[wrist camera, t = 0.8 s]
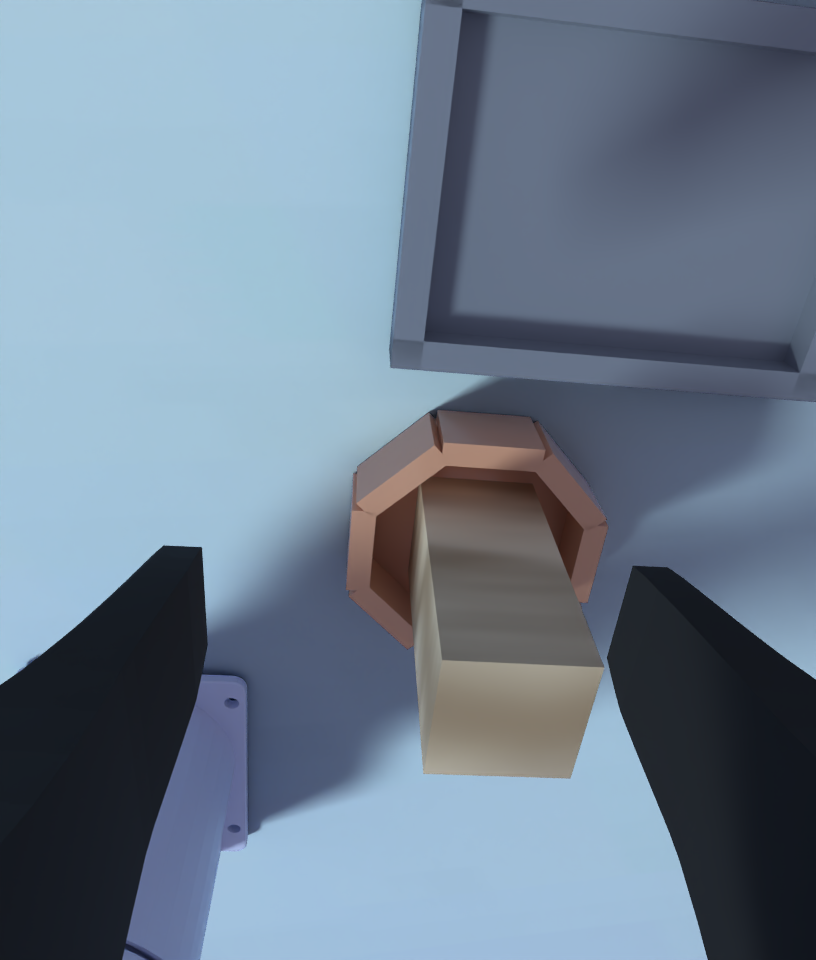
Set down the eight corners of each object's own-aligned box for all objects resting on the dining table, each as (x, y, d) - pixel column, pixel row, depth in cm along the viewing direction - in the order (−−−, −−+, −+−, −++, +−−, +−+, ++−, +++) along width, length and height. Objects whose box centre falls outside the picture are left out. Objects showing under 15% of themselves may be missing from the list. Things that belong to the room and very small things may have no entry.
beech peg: (513, 575, 24) (570, 778, 17) (408, 569, 24) (423, 773, 17) (532, 483, 23) (604, 667, 16) (419, 475, 22) (441, 660, 15)
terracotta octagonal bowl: (556, 615, 26) (571, 659, 24) (343, 604, 25) (341, 648, 23) (606, 422, 22) (627, 455, 20) (358, 403, 22) (357, 436, 20)
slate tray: (790, 382, 22) (816, 402, 21) (389, 348, 21) (390, 367, 20) (922, 30, 18) (965, 27, 16) (424, -34, 17) (429, -43, 15)
